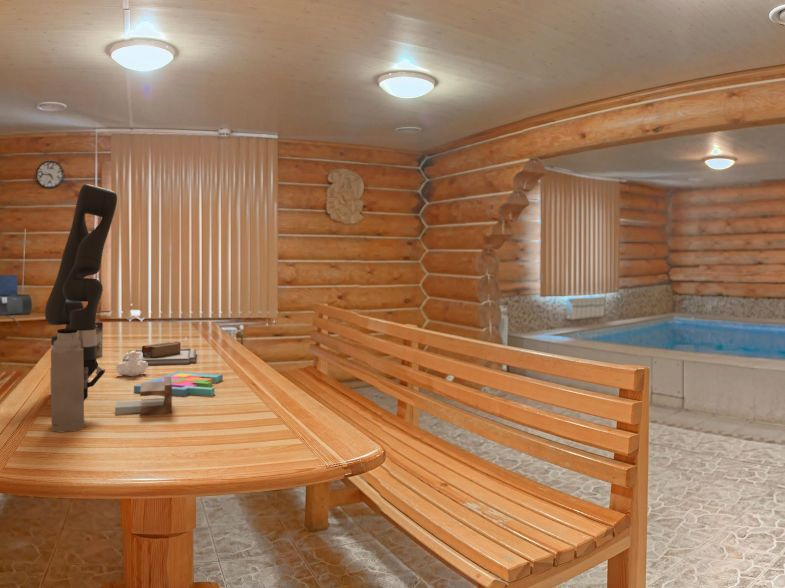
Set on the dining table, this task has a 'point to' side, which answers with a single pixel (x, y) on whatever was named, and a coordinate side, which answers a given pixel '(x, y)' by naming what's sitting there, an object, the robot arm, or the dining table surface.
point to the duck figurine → (132, 365)
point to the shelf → (157, 389)
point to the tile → (136, 406)
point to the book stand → (165, 354)
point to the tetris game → (189, 383)
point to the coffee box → (99, 338)
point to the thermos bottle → (67, 382)
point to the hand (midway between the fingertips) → (82, 400)
